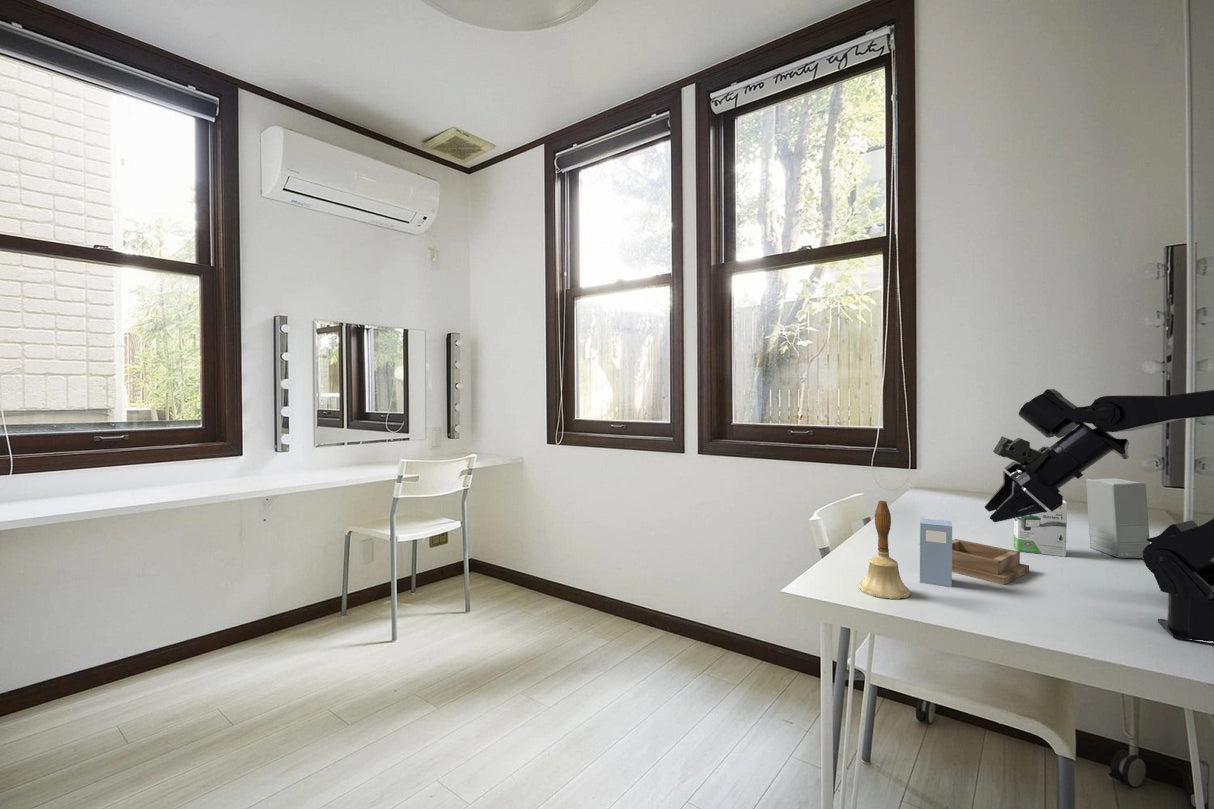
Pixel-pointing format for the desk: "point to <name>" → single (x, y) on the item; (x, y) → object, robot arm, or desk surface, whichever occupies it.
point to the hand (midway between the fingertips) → (989, 514)
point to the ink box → (1042, 532)
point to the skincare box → (1118, 517)
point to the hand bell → (883, 563)
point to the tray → (986, 562)
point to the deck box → (936, 552)
